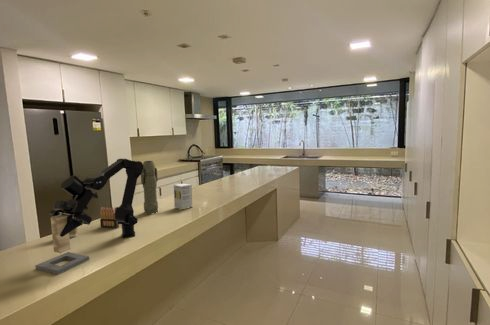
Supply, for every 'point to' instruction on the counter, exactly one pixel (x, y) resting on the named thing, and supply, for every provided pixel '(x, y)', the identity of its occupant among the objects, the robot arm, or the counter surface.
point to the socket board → (55, 269)
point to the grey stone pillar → (149, 187)
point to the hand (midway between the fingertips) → (57, 235)
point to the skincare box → (73, 233)
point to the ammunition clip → (108, 218)
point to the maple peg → (59, 242)
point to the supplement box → (183, 196)
